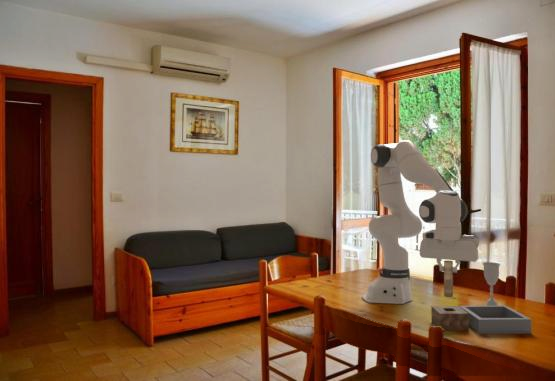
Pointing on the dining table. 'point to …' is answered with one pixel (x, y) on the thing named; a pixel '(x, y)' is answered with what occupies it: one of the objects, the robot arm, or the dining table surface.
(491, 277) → the chalice
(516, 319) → the tray
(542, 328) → the dining table surface
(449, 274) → the dowel
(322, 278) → the dining table surface
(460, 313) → the dowel block
